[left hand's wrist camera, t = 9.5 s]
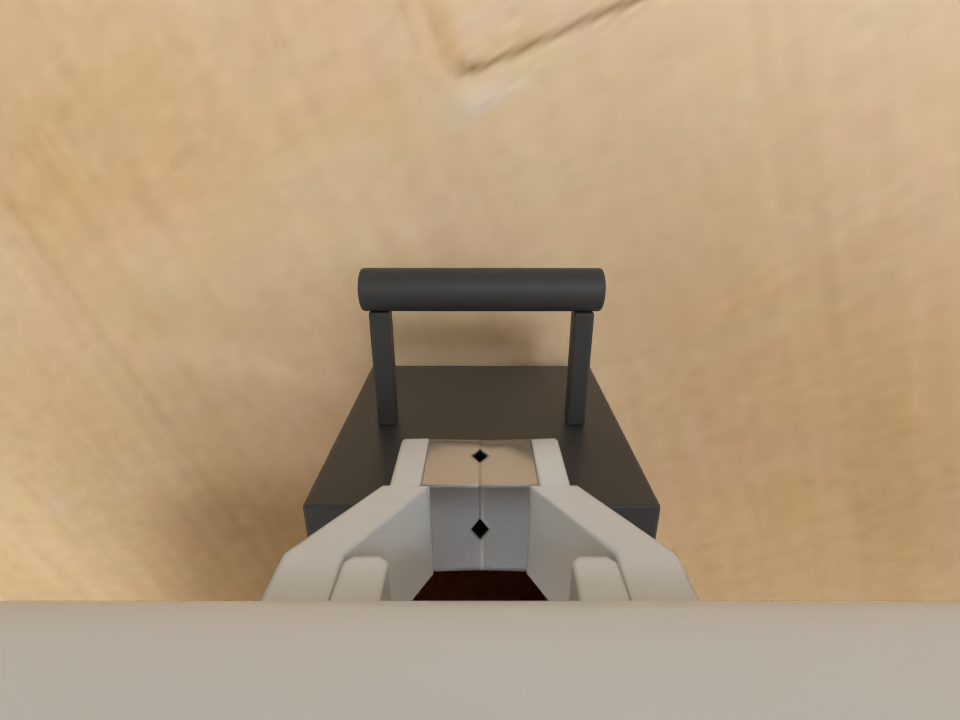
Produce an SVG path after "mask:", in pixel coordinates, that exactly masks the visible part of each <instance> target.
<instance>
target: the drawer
mask: <svg viewBox="0 0 960 720" xmlns="http://www.w3.org/2000/svg"><path fill="white" fill-rule="evenodd" d="M605 291H606V284H605V276H604V272H603V270H602V269H600V268H363V269H361V270H360V273H359V277H358V298H359V303H360V306H361V308H362V310H364V311H370V313H369V320H370V332H371V344H372V356H373V368H372V370H371V372H370V374H369V376H368V377H367V379H366V381H365V383H364V385H363V387H362V389H361V391H360V393H359V395H358V397H357V399H356V401H355V403H354V405H353V407H352V409H351V411H350V413H349V415H348V417H347V419H346V421H345V423H344V425H343V427H342V429H341V431H340V433H339V435H338V437H337V439H336V441H335V443H334V445H333V447H332V449H331V451H330V453H329V455H328V457H327V459H326V461H325V463H324V465H323V467H322V469H321V471H320V473H319V475H318V477H317V479H316V481H315V483H314V485H313V487H312V489H311V491H310V493H309V495H308V497H307V499H306V501H305V503H304V505H303V510H304V517H305V523H306V530H307V536H308V537H309V536H310V535H312V534H313V533H315V532H316V531H318V530H319V529H321V528H322V527H324V526H325V525H326V524H328V523H329V522H331V521H332V520H334V519H335V518H337V517H338V516H339V515H341V514H342V513H344V512H345V511H347V510H348V509H350V508H351V507H353V506H354V505H355V504H357V503H358V502H360V501H361V500H363V499H364V498H366V497H367V496H368V495H370V494H371V493H373V492H374V491H376V490H377V489H379V488H380V487H382V486H390V484H391V480H392V476H393V473H394V469H395V465H396V462H397V458H398V454H399V451H400V447H401V444H402V441H403V440H404V439H426V438H428V439H429V440H430V439H461V440H513V439H550V438H555V439H556V440H558V444H559V448H560V451H561V455H562V459H563V462H564V466H565V469H566V473H567V477H568V480H569V484H570V486H579V487H580V488H581V489H583V490H584V491H586V492H587V493H589V494H590V495H591V496H593V497H594V498H596V499H597V500H599V501H600V502H602V503H603V504H604V505H606V506H607V507H609V508H610V509H612V510H613V511H615V512H616V513H617V514H619V515H620V516H622V517H623V518H625V519H626V520H628V521H629V522H630V523H632V524H633V525H635V526H636V527H638V528H639V529H641V530H642V531H643V532H645V533H646V534H648V535H649V536H651V537H652V538H654V539H655V538H656V531H657V525H658V519H659V513H660V505H659V503H658V501H657V499H656V497H655V495H654V493H653V491H652V489H651V487H650V485H649V483H648V481H647V479H646V477H645V475H644V473H643V471H642V469H641V467H640V465H639V463H638V461H637V459H636V457H635V455H634V453H633V452H632V450H631V448H630V446H629V444H628V442H627V440H626V438H625V436H624V434H623V432H622V430H621V428H620V426H619V424H618V422H617V420H616V418H615V416H614V414H613V412H612V410H611V408H610V406H609V404H608V402H607V400H606V398H605V396H604V394H603V392H602V390H601V388H600V387H599V385H598V383H597V381H596V379H595V377H594V375H593V373H592V371H591V369H590V356H591V344H592V332H593V321H594V313H593V312H592V311H600V310H601V309H602V307H603V304H604V300H605ZM392 311H572V314H571V328H570V343H569V357H568V366H395V355H394V340H393V325H392ZM412 601H548V599H547V598H546V597H545V596H544V594H543V593H542V592H541V591H540V589H539V588H538V587H537V586H536V584H535V583H534V582H533V581H532V579H531V578H530V577H529V576H528V574H527V571H496V570H463V571H433V575H432V576H431V577H430V579H429V580H428V581H427V582H426V584H425V585H424V586H423V587H422V589H421V590H420V591H419V592H418V594H417V595H416V596H415V597H414V599H413V600H412Z"/></svg>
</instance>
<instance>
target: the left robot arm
mask: <svg viewBox="0 0 960 720" xmlns="http://www.w3.org/2000/svg"><path fill="white" fill-rule="evenodd" d="M463 570H496V571H527V574H528V576H529V577H530V578H531V579H532V581H533V582H534V583H535V584H536V586H537V587H538V588H539V589H540V591H541V592H542V593H543V594H544V596H545V597H546V598H547V599H548V601H412V600H413V599H414V597H415V596H416V595H417V594H418V592H419V591H420V590H421V589H422V587H423V586H424V585H425V584H426V582H427V581H428V580H429V579H430V577H431V576H432V575H433V571H463ZM0 720H960V601H700V600H699V598H698V596H697V594H696V592H695V590H694V588H693V586H692V584H691V582H690V580H689V578H688V576H687V574H686V572H685V570H684V568H683V566H682V564H681V562H680V560H679V558H678V556H677V554H675V553H674V552H672V551H671V550H669V549H668V548H667V547H665V546H664V545H662V544H661V543H659V542H658V541H656V540H655V539H654V538H652V537H651V536H649V535H648V534H646V533H645V532H643V531H642V530H641V529H639V528H638V527H636V526H635V525H633V524H632V523H630V522H629V521H628V520H626V519H625V518H623V517H622V516H620V515H619V514H617V513H616V512H615V511H613V510H612V509H610V508H609V507H607V506H606V505H604V504H603V503H602V502H600V501H599V500H597V499H596V498H594V497H593V496H591V495H590V494H589V493H587V492H586V491H584V490H583V489H581V488H580V487H579V486H570V484H569V480H568V477H567V473H566V469H565V466H564V462H563V459H562V455H561V451H560V448H559V444H558V440H556V439H555V438H550V439H513V440H461V439H430V440H429V439H428V438H426V439H404V440H403V441H402V444H401V447H400V451H399V454H398V458H397V462H396V465H395V469H394V473H393V476H392V480H391V484H390V486H382V487H380V488H379V489H377V490H376V491H374V492H373V493H371V494H370V495H368V496H367V497H366V498H364V499H363V500H361V501H360V502H358V503H357V504H355V505H354V506H353V507H351V508H350V509H348V510H347V511H345V512H344V513H342V514H341V515H339V516H338V517H337V518H335V519H334V520H332V521H331V522H329V523H328V524H326V525H325V526H324V527H322V528H321V529H319V530H318V531H316V532H315V533H313V534H312V535H310V536H309V537H308V538H306V539H305V540H303V541H302V542H300V543H299V544H297V545H296V546H295V547H293V548H292V549H290V550H289V551H287V552H286V553H284V554H283V556H282V558H281V560H280V562H279V564H278V566H277V568H276V570H275V572H274V574H273V576H272V578H271V580H270V582H269V584H268V586H267V588H266V590H265V592H264V594H263V596H262V598H261V600H260V601H0Z"/></svg>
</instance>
